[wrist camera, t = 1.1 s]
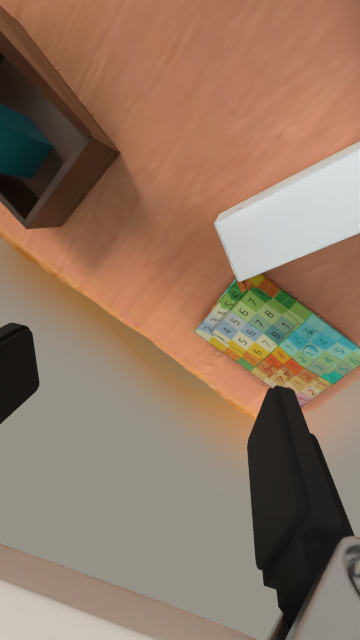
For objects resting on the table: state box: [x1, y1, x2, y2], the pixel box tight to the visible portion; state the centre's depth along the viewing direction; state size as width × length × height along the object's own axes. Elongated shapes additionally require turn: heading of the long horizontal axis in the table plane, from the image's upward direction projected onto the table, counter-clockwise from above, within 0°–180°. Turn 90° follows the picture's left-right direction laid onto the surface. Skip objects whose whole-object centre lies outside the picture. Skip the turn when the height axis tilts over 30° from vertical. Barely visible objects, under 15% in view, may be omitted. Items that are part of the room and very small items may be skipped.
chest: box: [0, 6, 120, 229], centre depth 28 cm, size 14×17×7 cm
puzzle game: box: [194, 274, 360, 407], centre depth 34 cm, size 12×5×20 cm
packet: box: [0, 104, 53, 179], centre depth 28 cm, size 6×4×8 cm
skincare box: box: [214, 141, 360, 282], centre depth 21 cm, size 21×6×16 cm, turn 116°
